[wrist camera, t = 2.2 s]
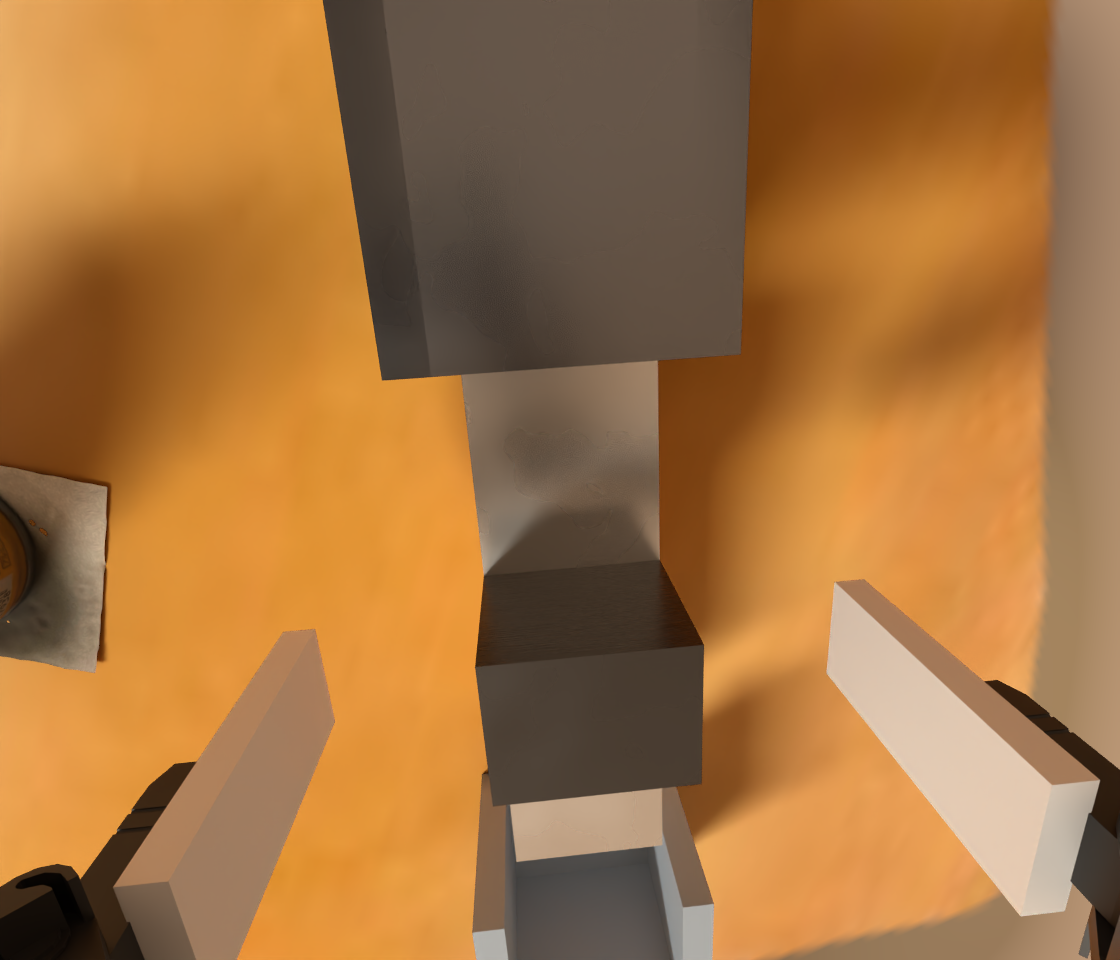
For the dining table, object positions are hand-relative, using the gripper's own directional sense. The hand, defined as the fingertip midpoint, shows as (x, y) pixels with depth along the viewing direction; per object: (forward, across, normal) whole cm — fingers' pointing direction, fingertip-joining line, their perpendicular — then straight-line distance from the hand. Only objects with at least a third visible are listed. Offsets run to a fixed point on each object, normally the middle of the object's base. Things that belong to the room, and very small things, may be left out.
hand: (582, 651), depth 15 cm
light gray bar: (+6, 0, +3) cm, 7 cm away
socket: (+7, 0, -13) cm, 15 cm away
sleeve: (+7, 0, +11) cm, 13 cm away
